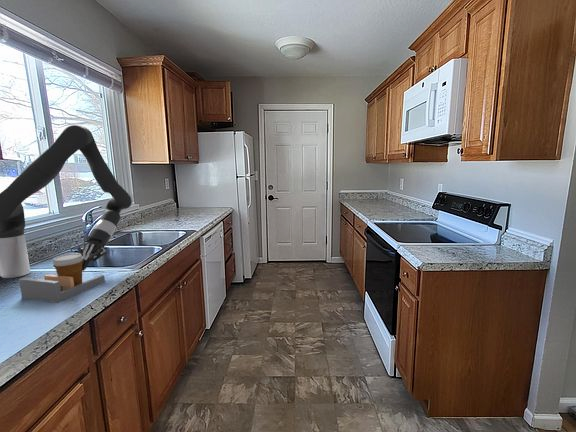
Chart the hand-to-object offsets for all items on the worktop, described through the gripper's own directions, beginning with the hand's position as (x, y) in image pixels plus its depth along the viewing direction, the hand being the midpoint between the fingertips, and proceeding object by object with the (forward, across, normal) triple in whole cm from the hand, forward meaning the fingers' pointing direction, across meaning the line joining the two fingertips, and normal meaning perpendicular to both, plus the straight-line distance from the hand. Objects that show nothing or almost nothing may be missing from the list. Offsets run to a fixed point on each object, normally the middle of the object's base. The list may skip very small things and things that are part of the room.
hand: (80, 269), depth 118 cm
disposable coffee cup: (+7, 0, +1) cm, 7 cm away
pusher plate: (+10, 0, -3) cm, 11 cm away
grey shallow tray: (+8, 0, 0) cm, 8 cm away
